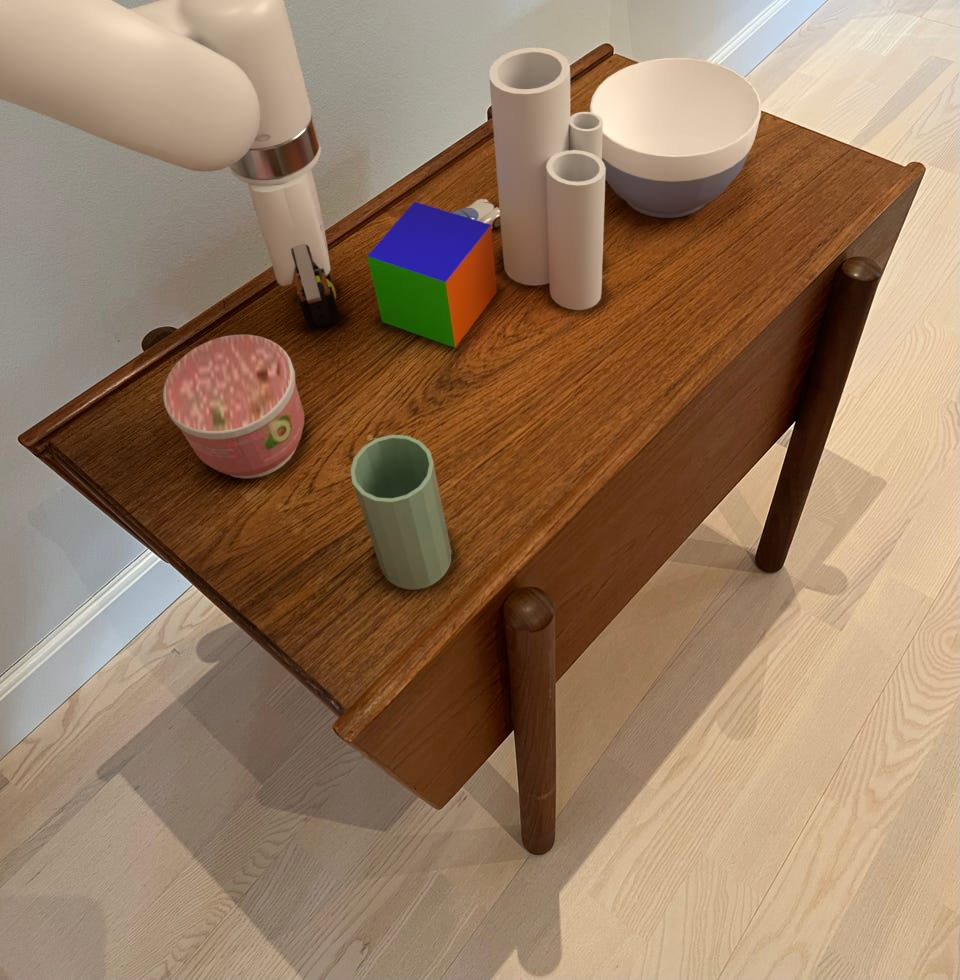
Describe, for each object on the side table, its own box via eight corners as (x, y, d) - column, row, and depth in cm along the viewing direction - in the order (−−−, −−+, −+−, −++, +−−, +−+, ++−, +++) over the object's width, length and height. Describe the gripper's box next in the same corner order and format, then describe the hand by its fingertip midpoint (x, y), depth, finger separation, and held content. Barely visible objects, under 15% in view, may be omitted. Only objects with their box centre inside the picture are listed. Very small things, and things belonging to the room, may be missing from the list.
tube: (387, 597, 72) (358, 510, 62) (374, 538, 75) (344, 446, 65) (458, 579, 72) (441, 489, 62) (442, 520, 75) (423, 426, 66)
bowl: (647, 124, 103) (653, 40, 95) (776, 176, 96) (794, 90, 88) (556, 201, 97) (555, 118, 89) (688, 263, 90) (699, 179, 82)
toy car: (532, 209, 96) (531, 188, 94) (437, 262, 93) (434, 242, 91) (511, 193, 98) (510, 171, 96) (416, 244, 95) (413, 224, 93)
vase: (489, 268, 92) (471, 78, 75) (535, 228, 95) (527, 36, 78) (582, 317, 87) (585, 125, 71) (628, 273, 90) (640, 79, 74)
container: (198, 505, 78) (164, 446, 72) (191, 411, 84) (159, 349, 78) (323, 475, 79) (300, 414, 72) (307, 385, 85) (285, 321, 78)
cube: (425, 268, 93) (414, 201, 86) (496, 292, 90) (491, 224, 83) (382, 321, 89) (367, 256, 82) (455, 347, 86) (445, 282, 80)
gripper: (215, 95, 80) (272, 261, 95) (234, 215, 70) (293, 379, 85) (302, 76, 80) (344, 245, 95) (332, 192, 71) (374, 359, 86)
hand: (320, 307), depth 90 cm, fingers closed on ball, 3 cm apart
